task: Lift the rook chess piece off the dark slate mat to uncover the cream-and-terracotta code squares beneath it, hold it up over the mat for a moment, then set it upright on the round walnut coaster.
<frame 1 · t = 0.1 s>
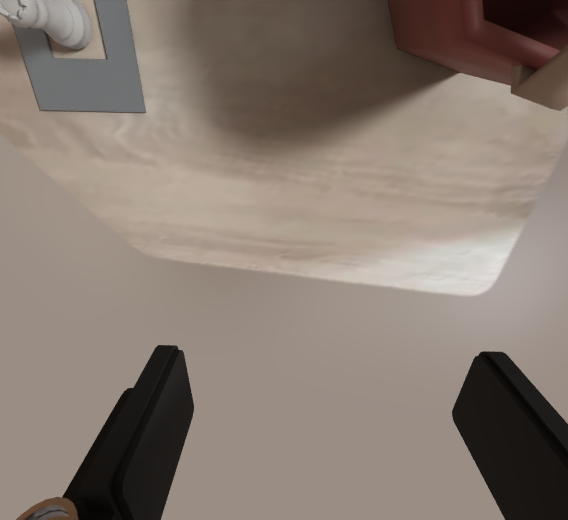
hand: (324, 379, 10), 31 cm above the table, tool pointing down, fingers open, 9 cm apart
rook chess piece: (73, 24, 31), on the table, touching code mat
code mat: (72, 24, 31), on the table
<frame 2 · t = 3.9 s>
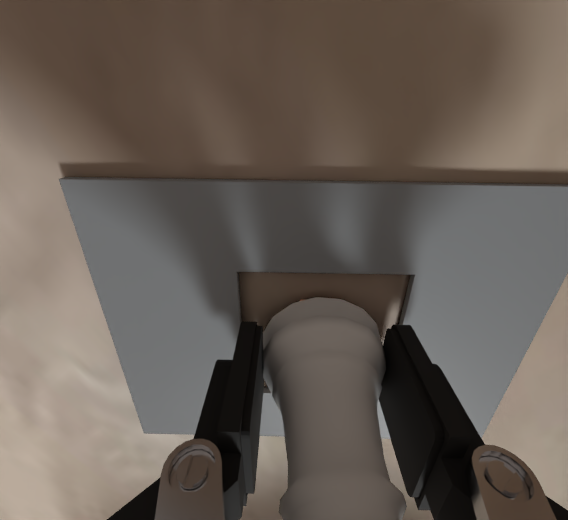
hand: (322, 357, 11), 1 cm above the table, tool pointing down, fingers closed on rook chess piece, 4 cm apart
rook chess piece: (318, 334, 12), on the table, touching code mat, gripper
code mat: (319, 335, 12), on the table
when the fingers open (3 cm above the table, at t = 11.1 s): rook chess piece drops 1 cm, resting on walnut coaster.
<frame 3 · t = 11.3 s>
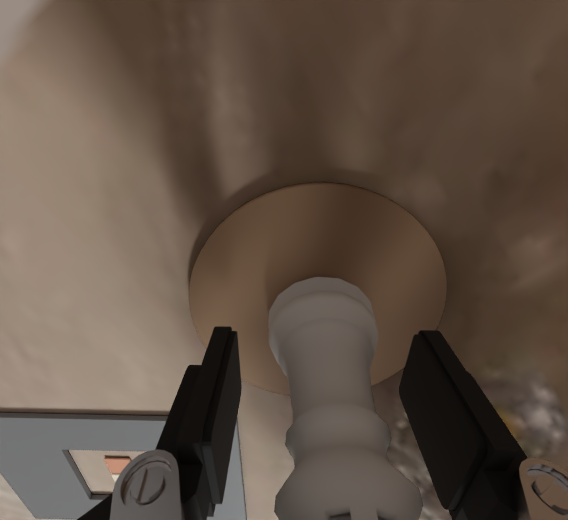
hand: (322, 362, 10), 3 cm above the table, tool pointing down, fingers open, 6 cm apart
rook chess piece: (319, 312, 13), resting on walnut coaster
code mat: (123, 472, 20), on the table
walnut coaster: (315, 305, 13), on the table
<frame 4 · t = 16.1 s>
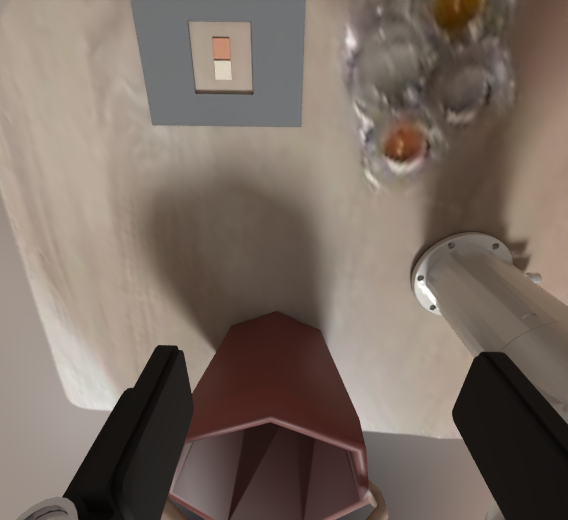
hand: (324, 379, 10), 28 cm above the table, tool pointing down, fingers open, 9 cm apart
code mat: (222, 59, 29), on the table
bucket: (274, 356, 48), on the table
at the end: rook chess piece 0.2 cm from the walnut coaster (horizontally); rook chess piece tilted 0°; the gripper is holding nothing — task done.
